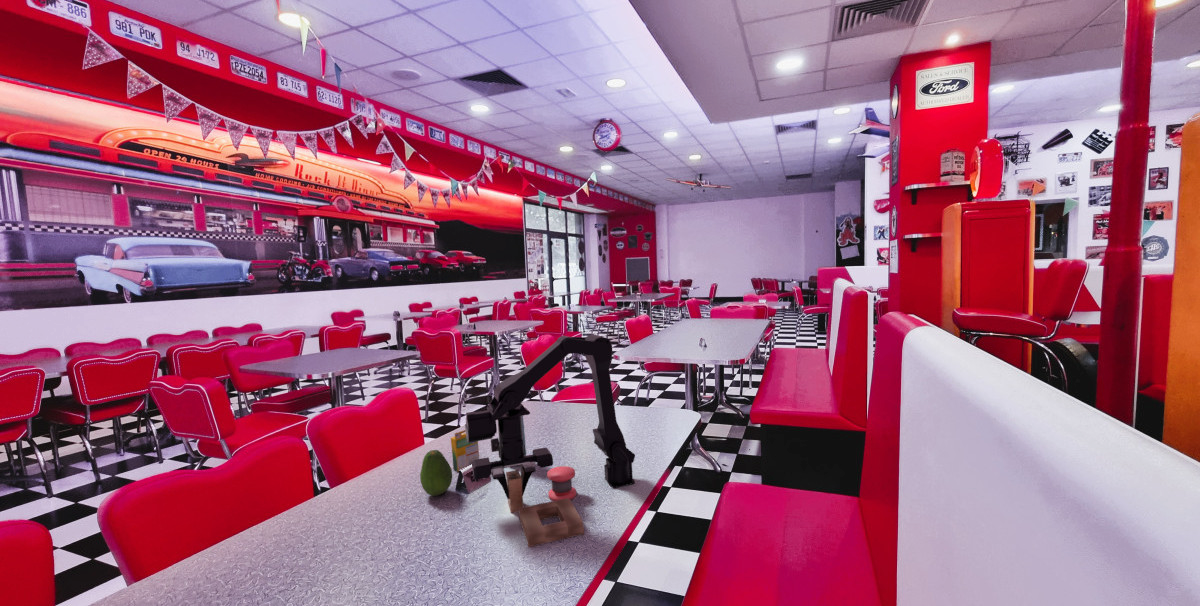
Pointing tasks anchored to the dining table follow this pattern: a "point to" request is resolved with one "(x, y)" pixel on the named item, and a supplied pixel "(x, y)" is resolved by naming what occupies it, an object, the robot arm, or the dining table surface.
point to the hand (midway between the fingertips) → (515, 496)
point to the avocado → (435, 473)
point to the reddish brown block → (514, 490)
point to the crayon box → (463, 451)
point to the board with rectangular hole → (555, 531)
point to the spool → (561, 483)
